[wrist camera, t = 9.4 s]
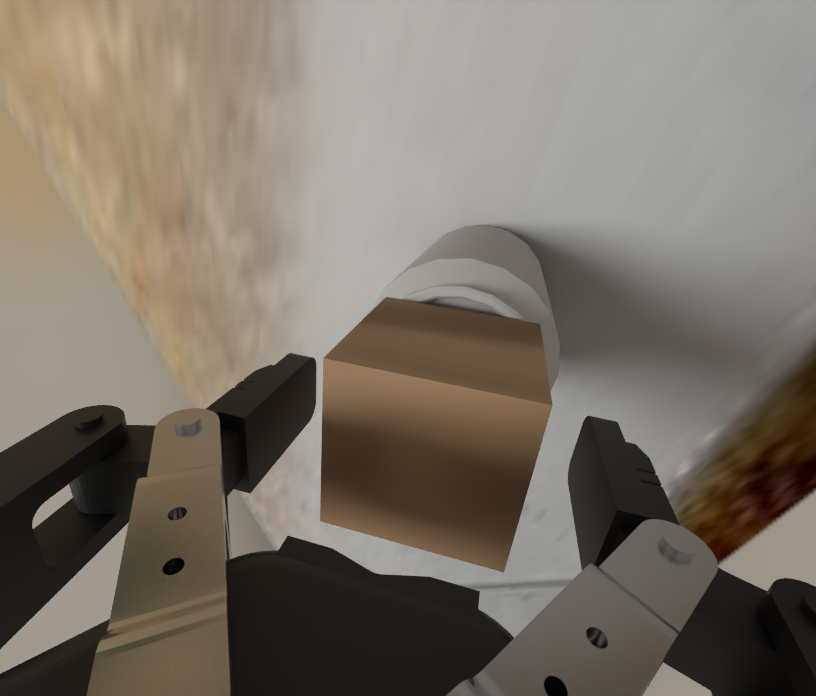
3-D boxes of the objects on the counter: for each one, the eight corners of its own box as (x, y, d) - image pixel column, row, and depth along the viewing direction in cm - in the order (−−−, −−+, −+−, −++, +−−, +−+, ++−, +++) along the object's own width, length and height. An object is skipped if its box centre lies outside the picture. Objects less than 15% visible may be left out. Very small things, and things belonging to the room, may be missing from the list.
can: (550, 337, 25) (575, 462, 15) (431, 351, 28) (376, 468, 17) (536, 210, 23) (553, 247, 12) (406, 236, 25) (322, 288, 14)
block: (386, 296, 14) (323, 357, 9) (540, 323, 13) (552, 405, 9) (375, 422, 16) (320, 521, 11) (507, 452, 15) (503, 572, 11)
